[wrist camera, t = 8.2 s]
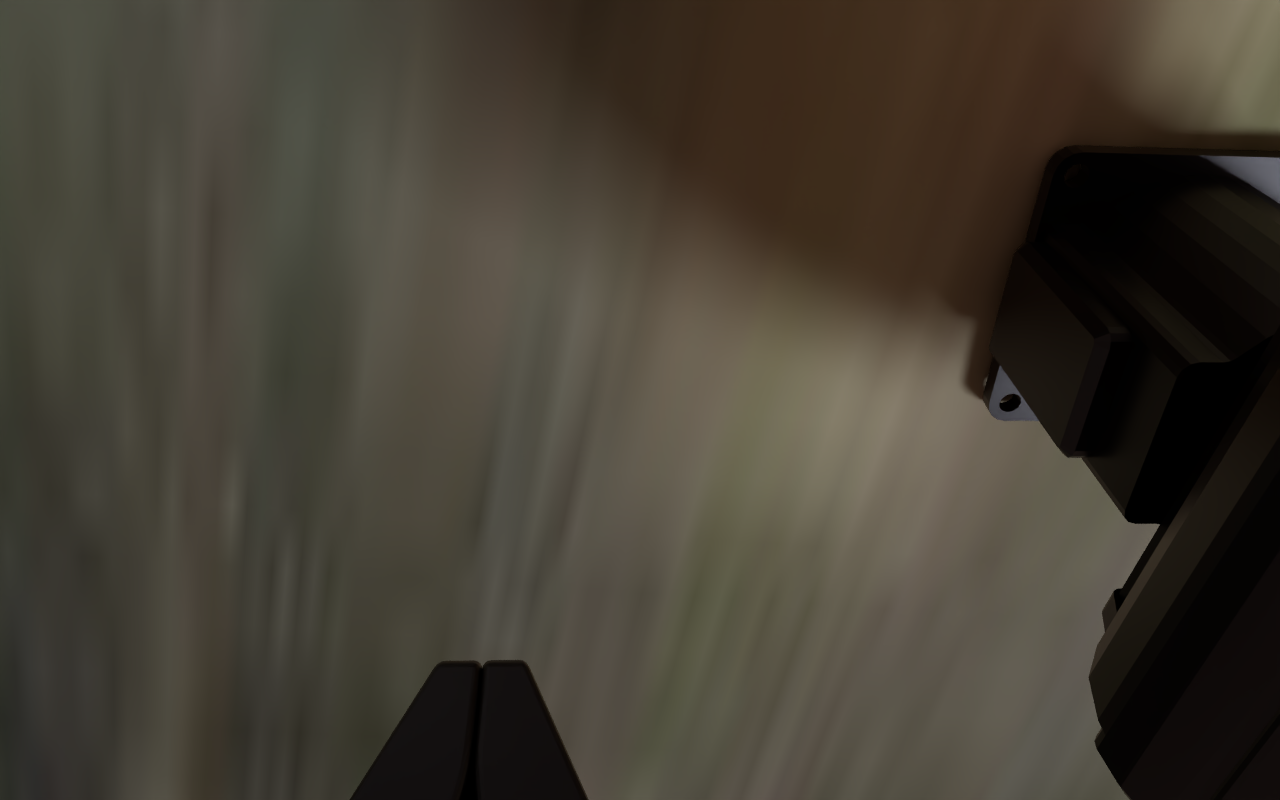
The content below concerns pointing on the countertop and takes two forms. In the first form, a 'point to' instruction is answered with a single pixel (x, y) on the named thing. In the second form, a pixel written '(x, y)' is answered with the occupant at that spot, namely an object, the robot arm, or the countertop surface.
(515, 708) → the robot arm
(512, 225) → the countertop surface
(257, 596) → the countertop surface
